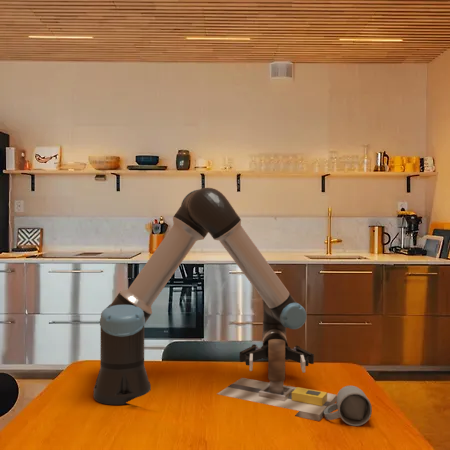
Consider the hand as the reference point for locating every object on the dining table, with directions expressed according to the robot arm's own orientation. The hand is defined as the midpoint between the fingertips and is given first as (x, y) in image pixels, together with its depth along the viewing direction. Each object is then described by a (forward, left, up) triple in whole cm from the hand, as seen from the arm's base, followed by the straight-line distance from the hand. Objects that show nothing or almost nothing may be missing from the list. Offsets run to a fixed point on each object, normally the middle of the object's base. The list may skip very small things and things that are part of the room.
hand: (277, 366), depth 124 cm
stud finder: (+8, +3, -8) cm, 12 cm away
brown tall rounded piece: (-1, +3, -8) cm, 9 cm away
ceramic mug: (+18, 0, -10) cm, 21 cm away
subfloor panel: (-1, +3, -10) cm, 10 cm away
